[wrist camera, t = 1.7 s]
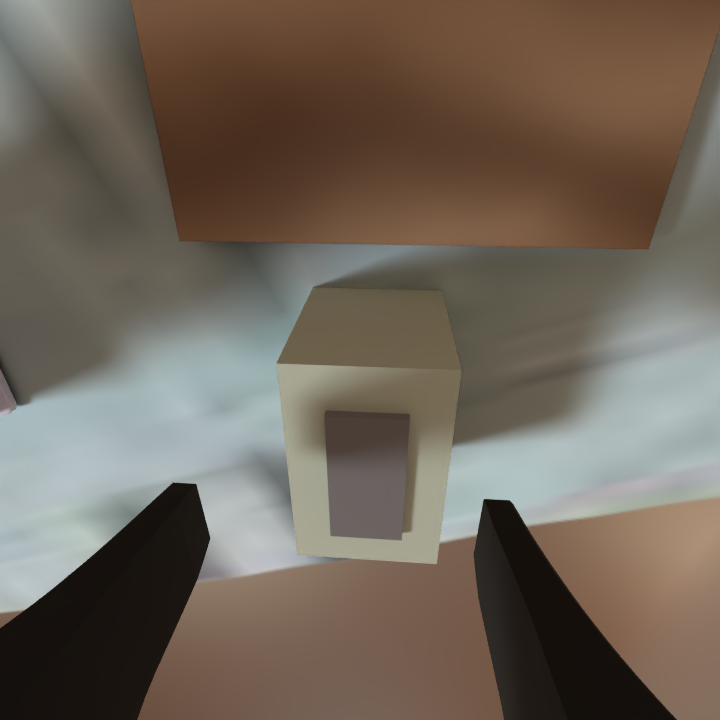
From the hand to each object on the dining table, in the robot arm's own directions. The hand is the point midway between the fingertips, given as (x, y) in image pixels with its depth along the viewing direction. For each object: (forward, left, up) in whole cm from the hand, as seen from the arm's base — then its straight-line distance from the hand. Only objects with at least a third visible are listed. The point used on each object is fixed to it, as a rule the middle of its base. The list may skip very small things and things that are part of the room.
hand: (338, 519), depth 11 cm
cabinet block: (-1, -1, -9) cm, 9 cm away
